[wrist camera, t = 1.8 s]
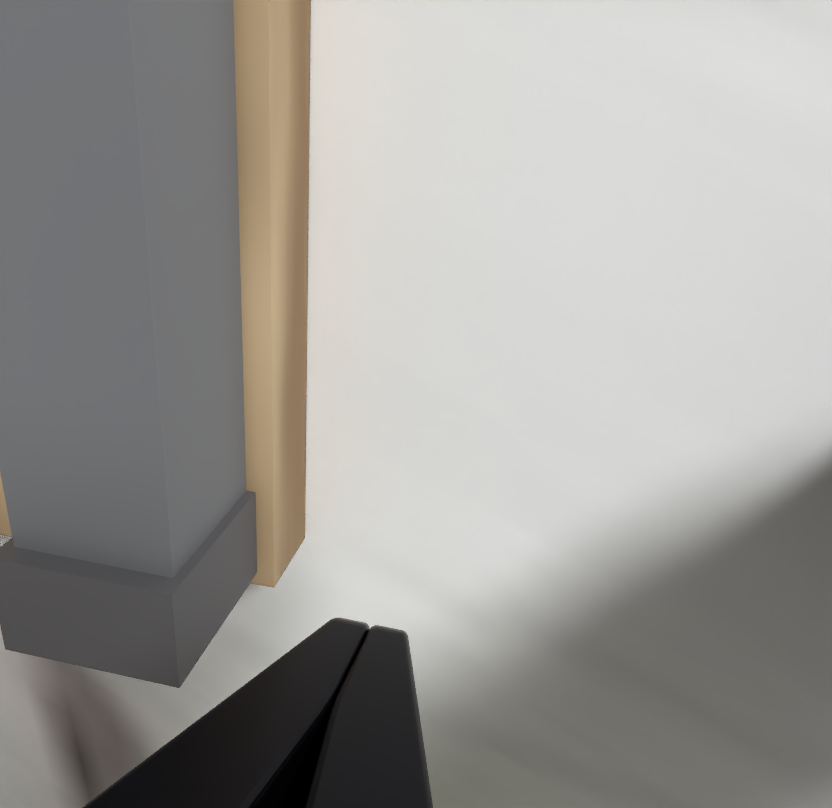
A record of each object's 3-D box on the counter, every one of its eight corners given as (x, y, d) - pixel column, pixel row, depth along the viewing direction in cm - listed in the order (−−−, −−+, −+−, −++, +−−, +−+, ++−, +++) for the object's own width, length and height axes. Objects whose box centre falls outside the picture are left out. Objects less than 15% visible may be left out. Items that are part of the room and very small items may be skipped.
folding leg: (9, -350, 10) (-258, -562, 7) (238, -355, 10) (63, -586, 6) (113, 544, 16) (-3, 657, 13) (257, 571, 16) (173, 696, 12)
